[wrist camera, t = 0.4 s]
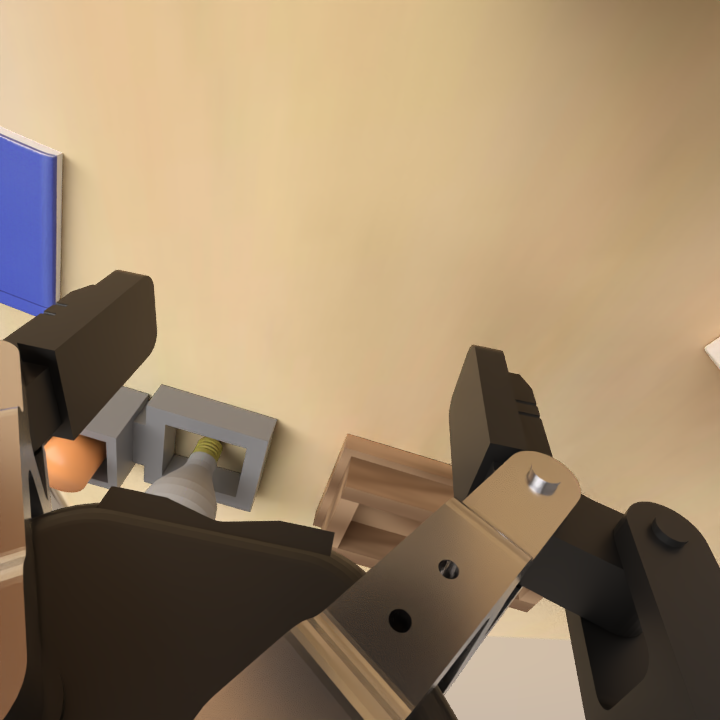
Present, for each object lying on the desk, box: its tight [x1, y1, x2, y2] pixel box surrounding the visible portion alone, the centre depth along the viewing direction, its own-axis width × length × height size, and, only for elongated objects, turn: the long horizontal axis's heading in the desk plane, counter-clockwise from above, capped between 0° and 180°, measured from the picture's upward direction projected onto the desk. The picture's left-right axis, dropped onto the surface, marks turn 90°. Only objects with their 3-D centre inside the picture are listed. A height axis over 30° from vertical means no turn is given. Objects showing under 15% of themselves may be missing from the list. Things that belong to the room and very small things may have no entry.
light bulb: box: [145, 437, 223, 520], centre depth 38 cm, size 5×5×10 cm
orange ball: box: [44, 434, 107, 492], centre depth 37 cm, size 4×4×4 cm
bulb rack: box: [313, 434, 543, 612], centre depth 41 cm, size 11×21×4 cm, turn 73°
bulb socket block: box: [43, 384, 277, 512], centre depth 39 cm, size 10×17×5 cm, turn 73°
